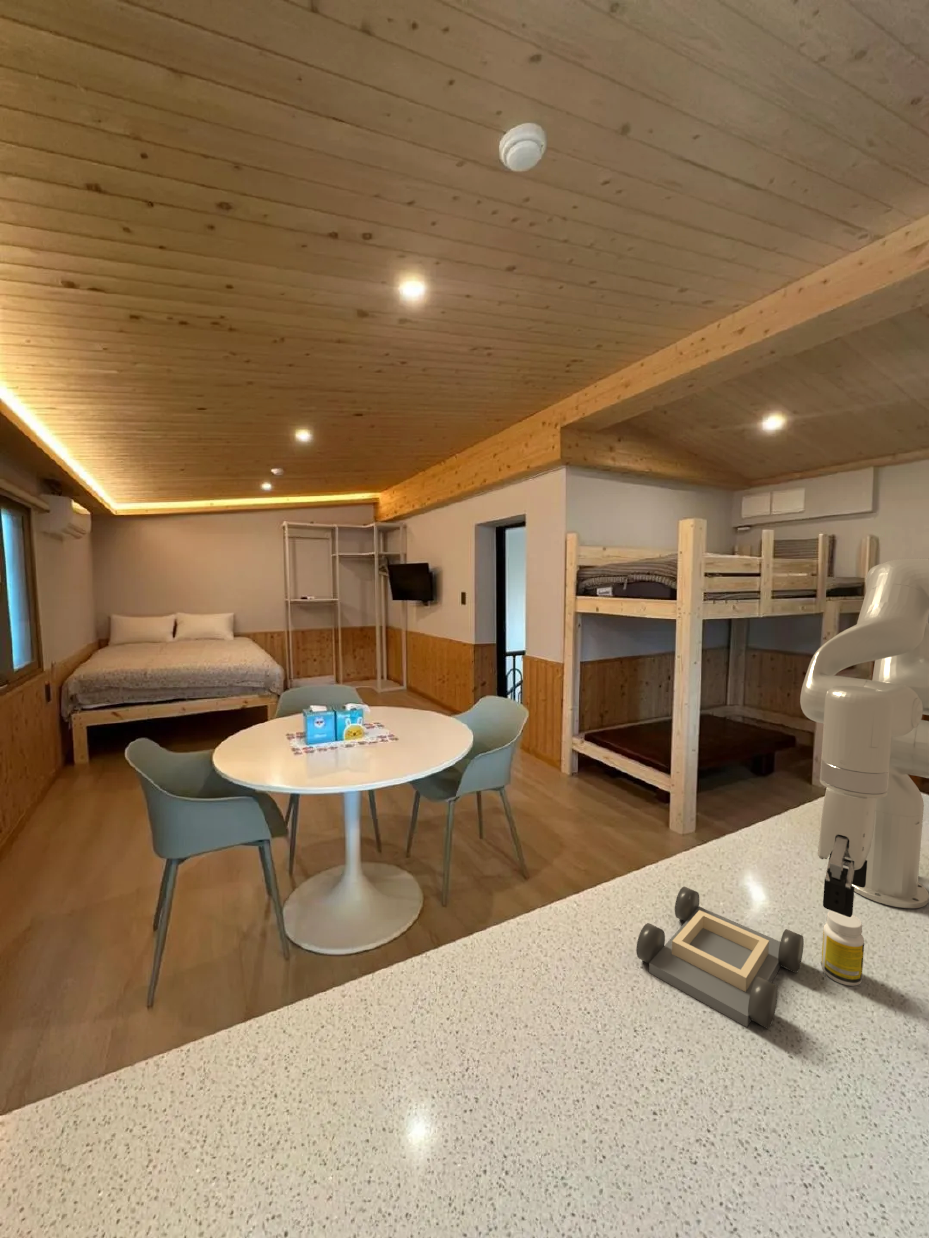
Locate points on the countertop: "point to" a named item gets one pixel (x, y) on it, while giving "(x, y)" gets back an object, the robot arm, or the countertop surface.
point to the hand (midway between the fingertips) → (844, 896)
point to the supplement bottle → (843, 949)
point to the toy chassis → (720, 961)
